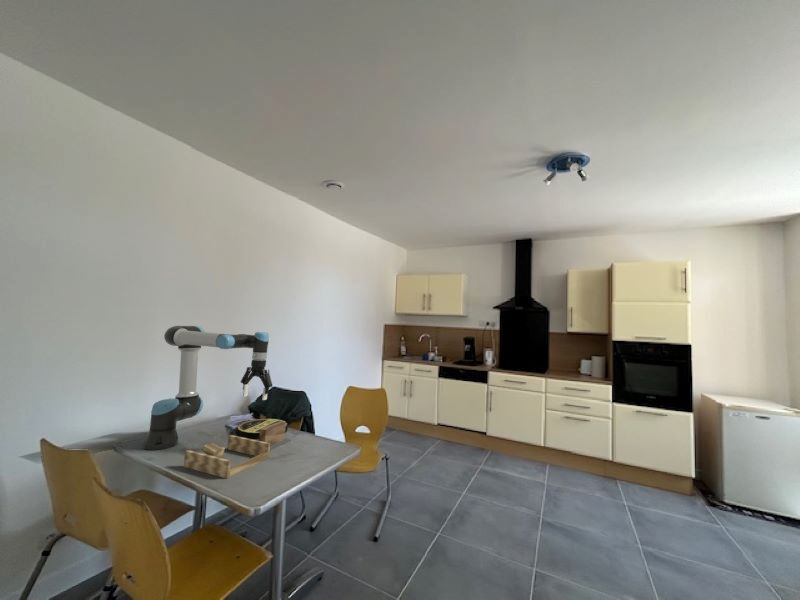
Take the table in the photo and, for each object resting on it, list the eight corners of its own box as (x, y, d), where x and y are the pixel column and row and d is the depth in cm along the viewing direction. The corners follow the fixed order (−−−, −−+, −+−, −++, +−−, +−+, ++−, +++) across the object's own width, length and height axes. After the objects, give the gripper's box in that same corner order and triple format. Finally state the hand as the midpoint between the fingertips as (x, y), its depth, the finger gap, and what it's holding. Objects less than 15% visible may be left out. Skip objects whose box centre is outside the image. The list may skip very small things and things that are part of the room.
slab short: (213, 458, 152) (213, 451, 152) (202, 451, 159) (203, 445, 160) (223, 455, 156) (223, 449, 156) (212, 449, 163) (212, 443, 163)
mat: (251, 449, 171) (251, 447, 171) (277, 437, 190) (277, 436, 190) (266, 452, 168) (266, 451, 168) (290, 440, 187) (291, 439, 187)
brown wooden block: (258, 447, 172) (260, 428, 173) (279, 438, 187) (280, 421, 188) (264, 448, 171) (265, 429, 172) (284, 439, 186) (285, 422, 187)
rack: (183, 466, 147) (185, 451, 148) (229, 448, 171) (230, 434, 172) (226, 478, 138) (228, 461, 139) (269, 457, 162) (270, 443, 162)
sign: (257, 416, 218) (296, 421, 212) (256, 422, 218) (296, 427, 212) (225, 429, 189) (270, 435, 183) (224, 436, 189) (269, 442, 183)
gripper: (236, 357, 179) (232, 395, 177) (272, 362, 171) (267, 402, 169) (246, 356, 186) (242, 393, 184) (281, 361, 178) (277, 399, 176)
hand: (254, 398), depth 177 cm, fingers open, 13 cm apart
